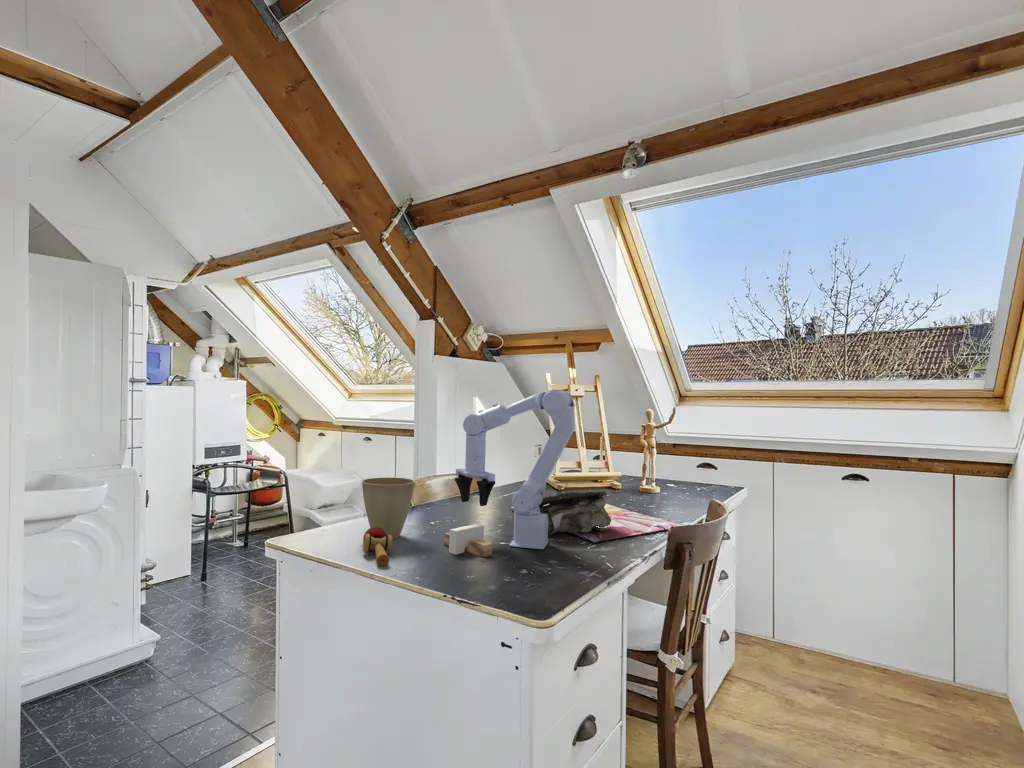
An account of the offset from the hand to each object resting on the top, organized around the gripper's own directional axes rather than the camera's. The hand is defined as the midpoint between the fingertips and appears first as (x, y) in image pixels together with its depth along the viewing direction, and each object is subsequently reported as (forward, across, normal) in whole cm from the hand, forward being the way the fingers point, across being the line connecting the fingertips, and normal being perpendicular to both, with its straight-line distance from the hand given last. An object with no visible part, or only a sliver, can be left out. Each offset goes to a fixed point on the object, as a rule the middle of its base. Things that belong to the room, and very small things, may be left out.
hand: (474, 503), depth 159 cm
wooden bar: (+10, +8, -9) cm, 16 cm away
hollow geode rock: (+10, +14, +28) cm, 33 cm away
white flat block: (+10, +8, -10) cm, 16 cm away
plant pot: (+10, -18, -17) cm, 27 cm away
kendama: (+10, -3, -30) cm, 32 cm away
